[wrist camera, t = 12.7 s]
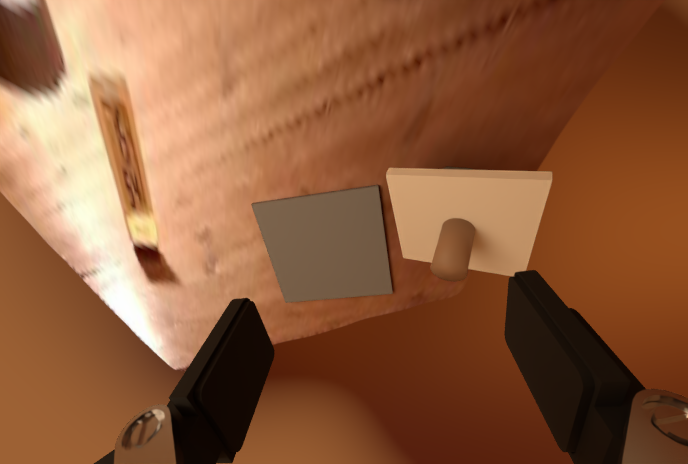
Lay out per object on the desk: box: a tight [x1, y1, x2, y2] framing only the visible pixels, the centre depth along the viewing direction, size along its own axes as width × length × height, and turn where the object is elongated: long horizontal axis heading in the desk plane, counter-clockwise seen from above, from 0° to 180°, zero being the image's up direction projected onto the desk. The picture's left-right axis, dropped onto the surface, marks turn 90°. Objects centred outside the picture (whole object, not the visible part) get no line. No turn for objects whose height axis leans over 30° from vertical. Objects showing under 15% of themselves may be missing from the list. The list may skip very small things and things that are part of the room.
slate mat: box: [251, 185, 393, 303], centre depth 48 cm, size 20×20×1 cm
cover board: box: [386, 168, 552, 281], centre depth 32 cm, size 15×15×7 cm
